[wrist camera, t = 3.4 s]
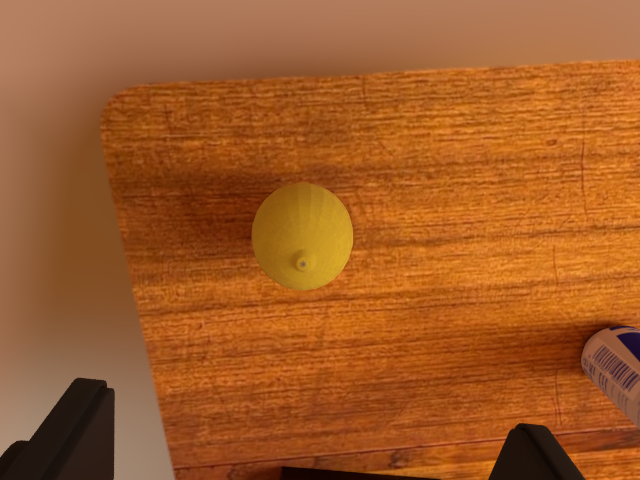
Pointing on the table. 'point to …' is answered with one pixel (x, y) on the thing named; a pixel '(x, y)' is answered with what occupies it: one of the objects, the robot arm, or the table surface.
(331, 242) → the lemon
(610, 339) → the beverage can
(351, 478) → the hob
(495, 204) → the table surface
